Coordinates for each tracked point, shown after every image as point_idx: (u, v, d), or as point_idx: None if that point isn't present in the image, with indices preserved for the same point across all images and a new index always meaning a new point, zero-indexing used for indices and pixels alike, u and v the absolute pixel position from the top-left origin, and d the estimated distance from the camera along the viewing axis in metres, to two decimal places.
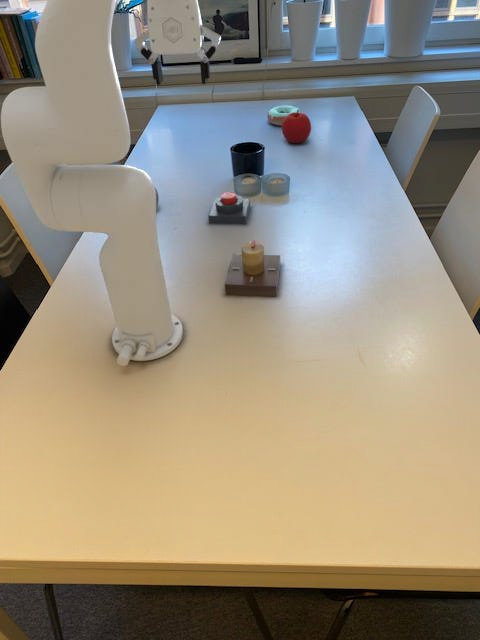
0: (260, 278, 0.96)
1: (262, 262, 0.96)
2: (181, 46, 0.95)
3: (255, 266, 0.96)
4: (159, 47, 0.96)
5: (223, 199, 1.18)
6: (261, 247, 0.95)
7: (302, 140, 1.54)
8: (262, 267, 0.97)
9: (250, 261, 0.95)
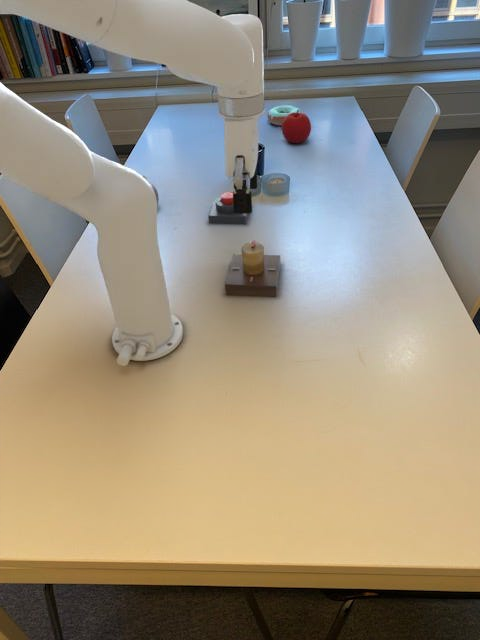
0: (260, 278, 0.96)
1: (262, 262, 0.96)
2: None
3: (255, 266, 0.96)
4: None
5: (223, 199, 1.18)
6: (261, 247, 0.95)
7: (302, 140, 1.54)
8: (262, 267, 0.97)
9: (250, 261, 0.95)
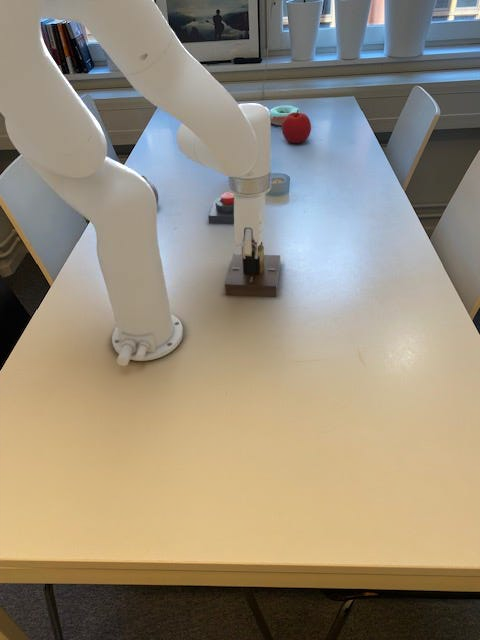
0: (260, 278, 0.96)
1: (262, 262, 0.96)
2: None
3: None
4: None
5: (223, 199, 1.18)
6: (261, 247, 0.95)
7: (302, 140, 1.54)
8: (262, 267, 0.97)
9: None
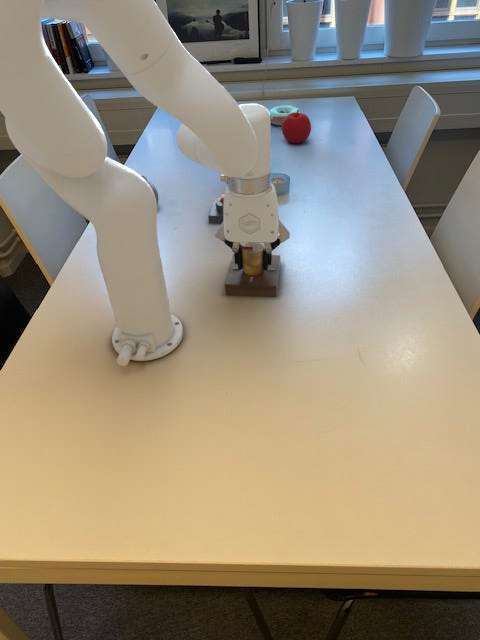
0: (260, 278, 0.96)
1: None
2: (257, 237, 0.91)
3: None
4: (234, 237, 0.91)
5: (223, 199, 1.18)
6: (252, 243, 0.97)
7: (302, 140, 1.54)
8: None
9: None
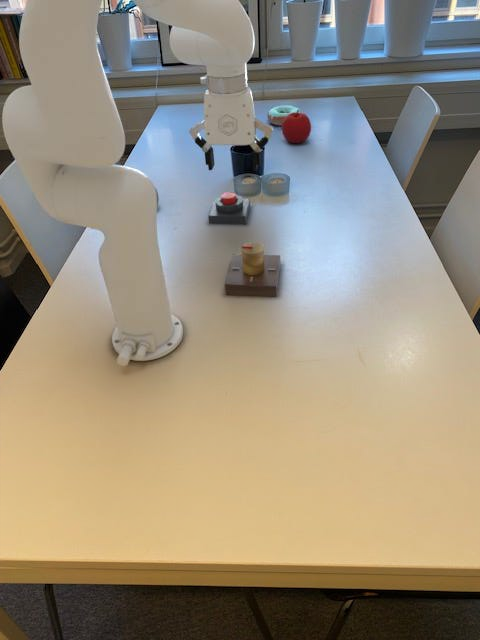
0: (260, 278, 0.96)
1: None
2: (235, 138, 0.98)
3: None
4: (214, 139, 0.99)
5: (223, 199, 1.18)
6: (252, 243, 0.97)
7: (302, 140, 1.54)
8: None
9: (263, 256, 0.96)
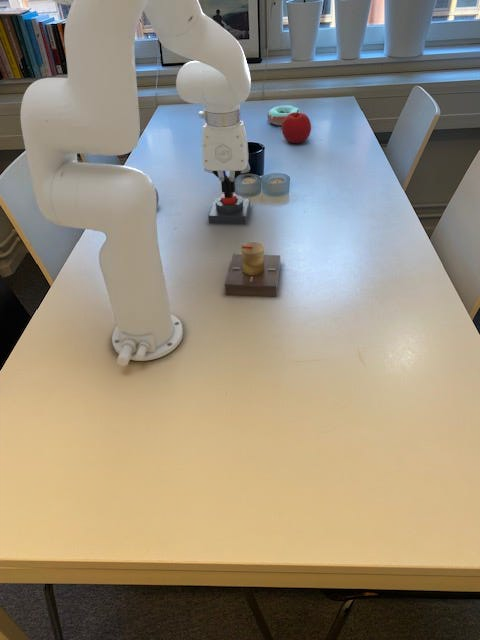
0: (260, 278, 0.96)
1: None
2: (230, 165, 1.11)
3: None
4: (211, 165, 1.11)
5: (223, 199, 1.18)
6: (252, 243, 0.97)
7: (302, 140, 1.54)
8: None
9: (263, 256, 0.96)
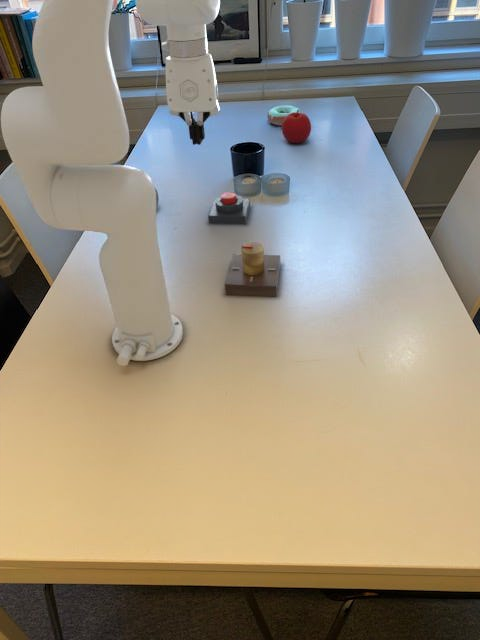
0: (260, 278, 0.96)
1: None
2: (197, 105, 1.00)
3: None
4: (176, 105, 1.00)
5: (223, 199, 1.18)
6: (252, 243, 0.97)
7: (302, 140, 1.54)
8: None
9: (263, 256, 0.96)
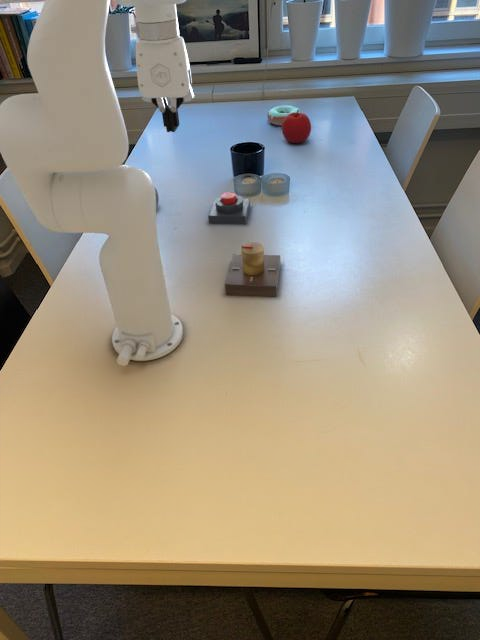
0: (260, 278, 0.96)
1: None
2: (169, 90, 0.96)
3: None
4: (148, 91, 0.97)
5: (223, 199, 1.18)
6: (252, 243, 0.97)
7: (302, 140, 1.54)
8: None
9: (263, 256, 0.96)
